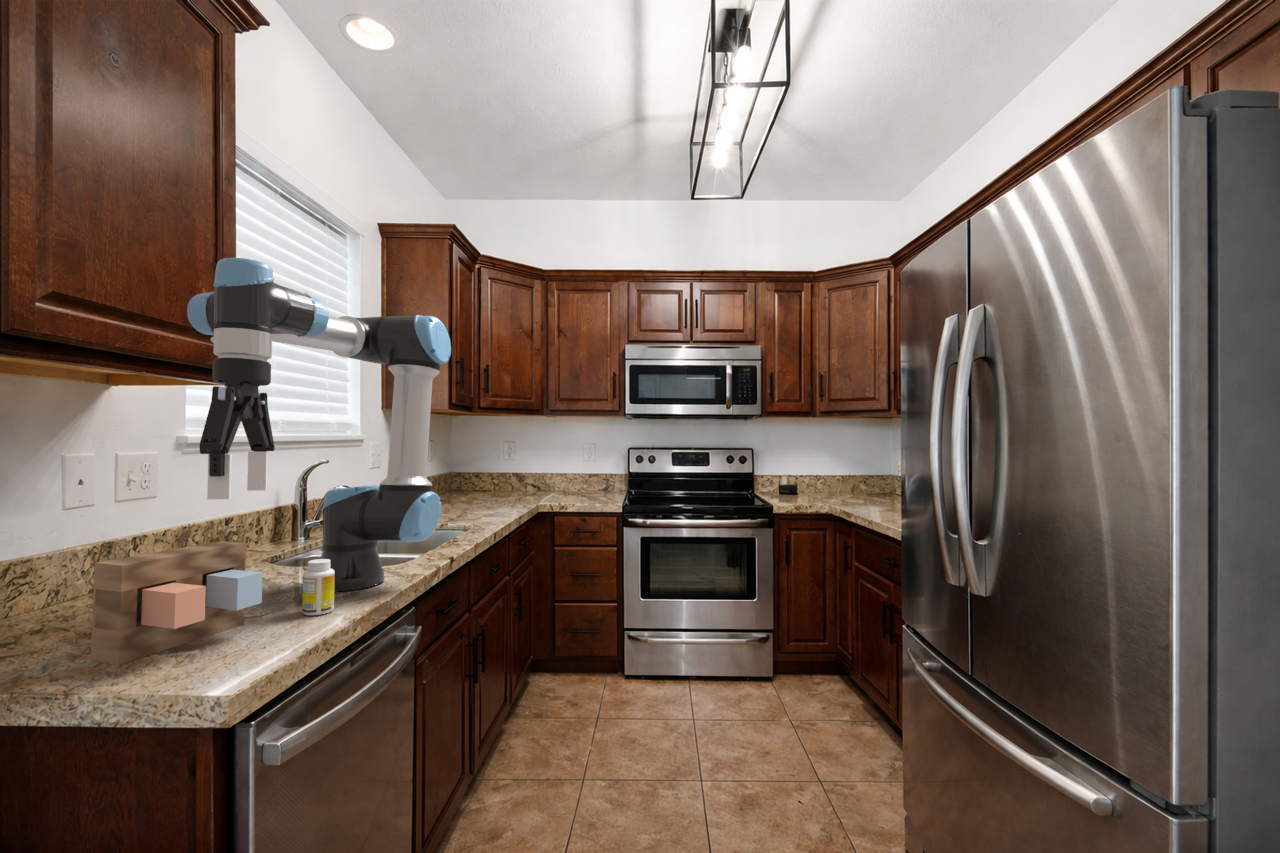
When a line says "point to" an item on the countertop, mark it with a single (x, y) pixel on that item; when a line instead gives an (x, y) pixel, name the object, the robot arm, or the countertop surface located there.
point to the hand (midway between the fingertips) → (239, 494)
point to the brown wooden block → (127, 577)
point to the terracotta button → (173, 605)
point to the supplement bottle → (318, 588)
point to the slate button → (234, 589)
